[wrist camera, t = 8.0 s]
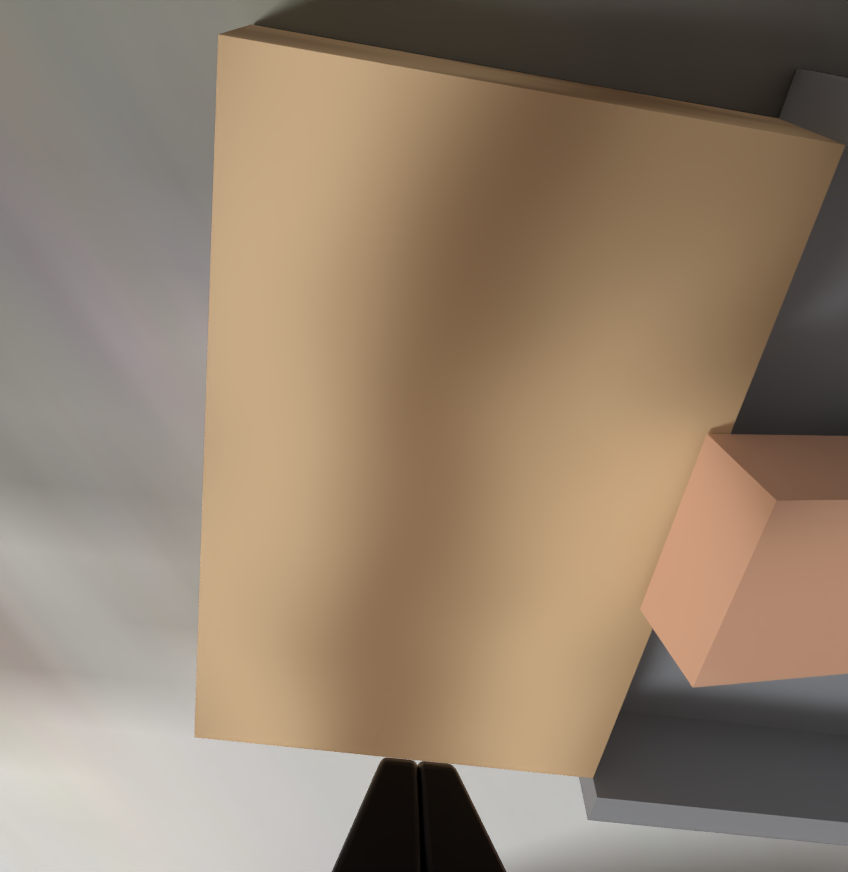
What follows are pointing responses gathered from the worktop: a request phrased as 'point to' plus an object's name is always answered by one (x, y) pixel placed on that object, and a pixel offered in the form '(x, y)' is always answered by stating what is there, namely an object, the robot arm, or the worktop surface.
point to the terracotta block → (757, 562)
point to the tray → (766, 700)
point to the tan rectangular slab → (464, 388)
